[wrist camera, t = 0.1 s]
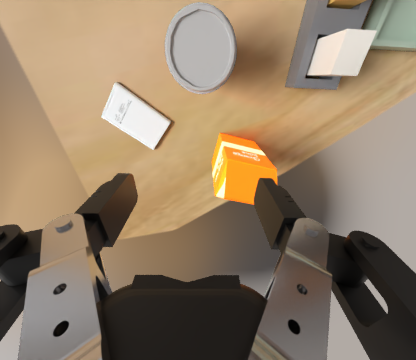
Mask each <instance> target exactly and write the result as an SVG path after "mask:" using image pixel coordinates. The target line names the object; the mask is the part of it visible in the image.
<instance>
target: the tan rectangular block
mask: <svg viewBox="0 0 416 360" xmlns="http://www.w3.org/2000/svg"><path fill="white" fill-rule="evenodd" d="M364 1H366V0H328V4H327V7H326V8H339V9H350V8H352V7H354V6H356V5H358V4H360V3H362V2H364Z"/></svg>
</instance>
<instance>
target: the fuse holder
mask: <svg viewBox="0 0 416 360" xmlns="http://www.w3.org/2000/svg"><path fill="white" fill-rule="evenodd" d="M371 2H372V0H366V1H364V2H362V3H360V4H358V5H356V6H354V7H352V8H350V9H339V8H326V7H327V4H328V0H307V1H306V5H305V9H304V13H303V17H302V21H301V25H300V29H299V33H298V37H297V41H296V45H295V49H294V53H293V56H292V60H291V64H290V68H289V72H288V76H287V80H286V84H285V87H293V88H312V89H332V90H336V89H337V87H338V84H339V82H340V79H341V77H342V76H325V77H319V79H307V78H305V76H306V73H307V70H308V66H309V63H310V60H311V57H312V53H313V50H314V47H315V43H316V40H317V39H320V38H323V37H325V36H328V35H331V34H334V33H337V32H340V31H343V30H345V29H361V27H362V24H363V22H364V19H365V17H366V14H367V12H368V9H369V7H370V4H371Z"/></svg>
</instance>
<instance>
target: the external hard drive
mask: <svg viewBox="0 0 416 360" xmlns="http://www.w3.org/2000/svg"><path fill="white" fill-rule="evenodd" d="M101 117H102V118H104V119H105V120H107V121H108V122H110V123H111V124H113V125H115V126H116V127H118V128H119V129H121V130H122V131H124V132H126V133H127V134H129V135H130V136H132V137H133V138H135V139H137V140H138V141H140V142H141V143H143V144H144V145H146V146H148V147H149V148H151V149H152V150H154V148H155V147H156V145H157V144H158V142H159V140H160V139H161V137H162V136H163V134H164V132H165V131H166V129H167V128H168V126H169V124H170V123H171V121H170V120H169V119H168V118H166V117H165V116H163V115H162V114H161V113H159V112H158V111H156V110H155V109H154V108H152V107H151V106H150V105H148V104H147V103H145V102H144V101H143V100H141V99H140V98H139V97H137V96H136V95H134V94H133V93H132V92H130V91H129V90H128V89H126V88H125V87H123V86H122V85H121V84H119V83H118V82H115V84H114V86H113V88H112V91H111V94H110V96H109V98H108V101H107V103H106V106H105V108H104V111H103V113H102V116H101Z"/></svg>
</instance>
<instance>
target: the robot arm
mask: <svg viewBox="0 0 416 360" xmlns="http://www.w3.org/2000/svg"><path fill="white" fill-rule="evenodd" d="M137 198H138V195H137V190H136V186H135V181H134V177H133V175H132V174H126V173H118V174H117V175H116V176H115V177H114V178H113V179H112V180H111V181H108V182H106V183H105V184H103V185H101V186H100V187H99V188H98V189H97V190H96V192H94V193H93V194H92V195H91V197H90V198H89V199H88V200H87V201H86V202H85V203H84V204H83V205H82V206H81V207H80V208H79V209H78V210H77V211H76V212H75V213H74V214H67V215H63V216H61V217H58V218H56V219H54V220H53V221H51V222H50V223H48V224H47V225H46V226H45V228H44V229H40V230H35V231H30V232H25V233H24V232H23V231H22V230H21V228H20V227H19V226H18V225H5V226H0V279H1V282H0V341H1V340H2V338H3V337H4V336H5V334H6V333H7V331H8V330H9V329H10V327H11V326H12V325H13V323H14V322H15V321H16V319H17V318H18V316H19V315H20V314H21V312H22V311H23V310H24V313H23V322H22V329H21V337H20V346H19V353H18V360H327V346H328V331H329V317H330V302H331V301H330V300H331V289H332V291H333V293H334V295H335V296H336V299H337V300H338V302H339V304H340V306H341V308H342V310H343V311H344V313H345V315H346V317H347V319H348V320H349V322H350V324H351V326H352V327H353V329H354V331H355V333H356V335H357V337H358V339H359V340H360V342H361V344H362V346H363V348H364V350H365V351H366V353H367V355H368V357H369V359H370V360H416V273H415V272H413V271H412V270H411V269H410V268H409V267H408V266H407V265H406V264H405V263H404V262H403V261H402V260H401V259H400V258H399V257H398V256H397V255H396V254H395V253H394V252H393V251H392V250H391V249H390V248H389V247H388V246H387V245H386V244H385V243H384V242H382V241H381V240H379V239H378V238H376V237H375V236H373V235H370V234H368V233H365V232H362V231H352V232H351V233H350V234H349V235H348V236H347V238H346V237H342V236H339V235H335V234H331V233H329V232H328V231H327V229H326V228H325V227H324V226H323V225H321V224H320V223H318V222H316V221H314V220H312V219H308V218H306V216H305V215H304V213H303V212H302V211H301V209H300V208H299V207H298V205H297V204H296V203H295V202H294V200H293V198H291V196H290V195H289V193H288V192H287V191H286V190H285V189H284V188H282V187H281V186H277V184H276V183H275V181H274V180H273V179H272V178H259V180H258V183H257V187H256V191H255V195H254V206H255V209H256V211H257V214H258V216H259V219H260V221H261V224H262V226H263V229H264V231H265V234H266V237H267V239H268V242H269V244H270V247H271V249H279V250H280V252H281V255H280V257H279V259H278V262H277V264H276V267H275V269H274V272H273V275H272V277H271V280H270V283H269V285H268V287H267V290H266V292H265V294H264V297H263V296H262V295H260V294H259V293H258V292H257V291H255V290H253V289H251V288H250V287H247V286H245V285H242V284H240V280H239V275H233V276H232V275H213V276H209V277H206V278H202V279H198V280H195V281H191V282H183V281H180V280H176V279H173V278H169V277H166V276H163V275H135V277H134V280H133V283H132V284H130V285H127V286H125V287H122V288H120V289H118V290H116V291H115V292H113V293H112V291H111V288H110V286H109V282H108V278H107V274H106V270H105V266H104V263H103V259H102V255H101V253H100V251H101V250H102V248H103V247H113V245H114V243H115V241H116V240H117V238H118V236H119V234H120V232H121V230H122V229H123V227H124V225H125V223H126V221H127V219H128V218H129V216H130V214H131V212H132V210H133V208H134V207H135V205H136V203H137ZM367 279H369V280H370V281H371V283H372V284H373V285H374V287H375V288H376V289H377V290H378V292H379V293H380V294H381V296H382V297H383V298H384V300H385V302H386V304H387V306H388V314H387V313H386V312H385V311H384V310H383V308H382V307H381V305H380V304H379V303H378V301H377V300H376V299H375V297H374V296H373V294H372V293H371V291H370V290H369V289H368V287H367V286H366V285H365V283H364V282H365V281H366V280H367Z"/></svg>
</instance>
